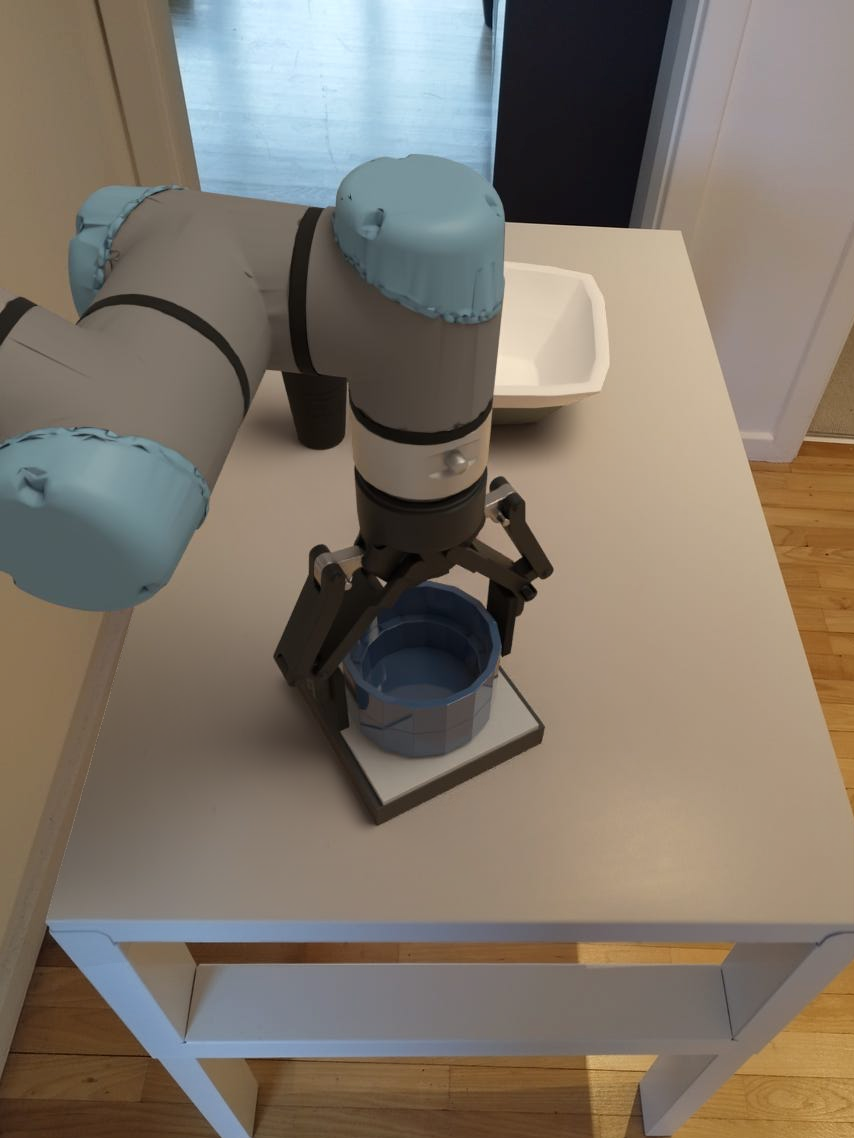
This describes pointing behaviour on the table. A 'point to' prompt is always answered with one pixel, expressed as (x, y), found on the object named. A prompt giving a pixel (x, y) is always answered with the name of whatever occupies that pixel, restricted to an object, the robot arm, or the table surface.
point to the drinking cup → (317, 408)
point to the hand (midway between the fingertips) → (419, 678)
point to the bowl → (548, 342)
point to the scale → (413, 780)
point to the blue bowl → (424, 671)
